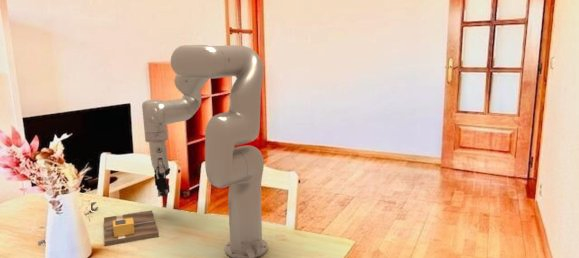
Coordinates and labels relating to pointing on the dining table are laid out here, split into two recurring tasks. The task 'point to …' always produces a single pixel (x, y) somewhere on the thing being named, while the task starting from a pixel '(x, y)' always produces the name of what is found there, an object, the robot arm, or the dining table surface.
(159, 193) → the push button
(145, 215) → the board
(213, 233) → the dining table surface
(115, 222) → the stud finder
